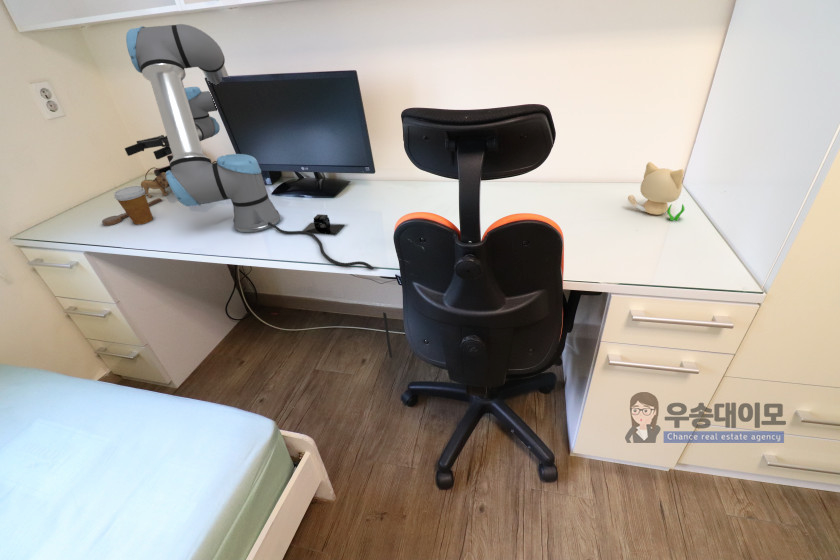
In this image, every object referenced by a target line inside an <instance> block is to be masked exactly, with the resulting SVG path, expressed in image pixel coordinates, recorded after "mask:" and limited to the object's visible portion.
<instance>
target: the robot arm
mask: <svg viewBox="0 0 840 560" xmlns="http://www.w3.org/2000/svg"><path fill="white" fill-rule="evenodd" d="M125 42H126V48H127V52H128V56H129V57H130V61H131V63H132V66H133V67H134V69H135V70H136V71H137V73H139V74H141V75H142V76H143V78H144V79H146V80H147V81H148V82H150V85H151V89H152V91H153V95H154V99H155V101H156V105H157V108H158V111H159V114H160V118H161V121H162V125H163V128H164V131H165V134H166V135H165V136H164V134H161V135H158V136H154V137H150V138H149V137H148V138H145V139H140V140H136V143H134V144H132V145H130V146H129V145H128V146H127V147H124V150H125V153H126V155H127V156H128V157H130V156H133V155H136V154H138V153H140V152H144V151H145V150H147V149H151V148H158V147H159V149H157V150H154V151H153V155H154V157H155V159H156V160H160V159H163V158H165V157H168V156H170V155H172V158H171V160H170V161H169V167H170V169H168V170H167V171H166V172H165V173H166V178H167V181H168V183H169V184H168V186H169V187H170V189H171V191H172V193H173V194H174V197H175V198H176V199H177V201H179V203H180V204H181V205H182V206H184V207H195V206H201V205H205V204H206V205H207V204H210V203H216V202H221V201H228V200H230V201H231V203H232V207H233V219H232V222H233V226H234V228H235V231H237V232H240V233H243V234H250V233H258V232H262V231H266V230H268V229H271V228H273V229H275V230H276V231H278V232H279V233H281V234H286V235H298V234H300V235H301V234H304V235H307V236H311V237H312V238H313V239H314V240H315V241H316V242H317V244H318V246H319V250H320V253H321V254H322V255H323V256H324V258H325V259H327V260H328V261H329V262H331V263H332V264H334V265H337V266H339V267H340V266H342V267H351V266H356V265H357V266H358V265H360V266H365V267H367V268H368V269H369V270H375V268H374V267H373V266H372V265H371V264H369V263H368V262H365V261H359V260H357V261H349V262H342V261H341V262H340V261H338V260H335V259H333V258H332V257H330V256H329V255H328V254H327V253H326V252H325V250H324V246H323V243H322V241H321V240H320V239H319V237H318V236H317V235H316V234H312V233H310V232H307V231H303V230H284V229H281V228H279V227H278V226H277V225H278V224H279V223H280V222H281V215H280V212H279V210H277V208H276V206H275V205H274V203H273V202H272V201H271V199H270V197H269V194H268V191H267V188H266V184H265V181H264V178H263V174H262V169H261V168H260V164H259V161H258V160H257V159H256V158H255V156H252V155H250V154H245V153H232V154H225V155H220V156H219V157H217V158H216V162H212V159H211V157H208V156H207V155H206V154H204V150H203V147H202V143H201V142H202V141H205V140H207V139H210V138H213V137H214V136H217V135H218V134H219V133H220V129H221V127H220V124H219V122H218V121H217V119H216V118H215V117H213V116H211V115H210V112H218V111H217V108H216V106H215V103H214V101H213V98H212V96H211V94H210V92H209V91H210V90H204V91H202V90H201V88H200V87H199V86H188V87H185V85H184V82H183V80H184V79H185V78H186V70H185V69H192V68H198V69H200V70H201V71H202V73H203V75H204V77H205V78H207V79H206V81H207V82H208V81H210V82H211V83H213V84H215V85H217V84H219V83H220V82H221V81H222V78H221V77H228V76H229V74H228V71H227V69H226V66H225V62H226V58H225V55H224V52H223V50H222V48H221V46H220V45H219V44H218V42H217V41H215V39H214V38H213V37H211V36H210V34H208V33H206V32H205V31H203V30H201V29H199V28H197V27H195V26H192V25H190V24H183V23H177V24H167V25H156V26H155V25H154V26H139V27H134V28H130V29H128V30H127V32H126V34H125ZM160 147H161V148H160ZM382 316H383V323H384V329H385V337H386V343H387V350H388V355H389V358H390V359H392V358H393V353H392V346H391V340H390V331H389V324H388V318H387V313H386V312H382Z"/></svg>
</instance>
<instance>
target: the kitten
mask: <svg viewBox="0 0 840 560" xmlns="http://www.w3.org/2000/svg"><path fill="white" fill-rule="evenodd" d="M684 172H685V171H684V169H683V168H680V169H677V170H673V169H670V168H659V167H658V166H657V165H655V164H654V163H653V162H652V161H648V162H647V163H646V165H645V171H644V173H643V179H642V181H641V183H640V186H639V187H640V194H641V195H642V197H644V198H645V199H646V200H645V202H643V204H640V203H638V202H637V200H636V198H635V196H634V195H633V194H630V195H629V194H628V196H627V201H628V202H629V203H630V204H631V205H632V206H633V207H635V208H636V209H637V210H639V211H642V212H645V213H647V214H650V215H663V214H665V213H666V214H667V215H668V219H669V221H676V222H678V220H679V219H680V217H681V215H682V214H683V213H684V212H685V210H686V208H685V206H684V204H683V203H682V204H681V210H680V211H679V212H678V213H676V215H675V216H673V215H672V213H671V208H672V205H673V204H672V203H673V202H675V201H677V200H678V199H680V197H681V194H682V190H683V184H682V183H683V178H684ZM669 203H671V204H670V205H669Z"/></svg>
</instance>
